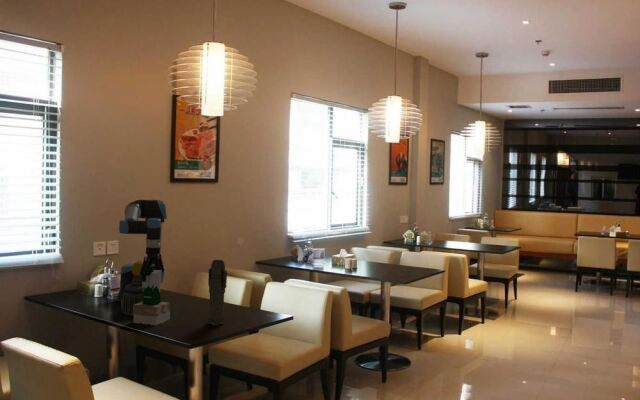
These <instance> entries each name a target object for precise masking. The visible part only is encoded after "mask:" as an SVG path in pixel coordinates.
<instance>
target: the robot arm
mask: <svg viewBox="0 0 640 400" xmlns="http://www.w3.org/2000/svg"><path fill="white" fill-rule="evenodd" d="M167 218H168V217H167V205H166V201H164V200H159V199H137V200H136V199H135V200H134V201H131V202H130V203H128V204H127V205H126V206H125V208H124V219H121V220H119V224H118V226H119V227H118V231H119V234H123V235H146V237H145V246H146V247H145V254H146V256H144V257H143V261H142V262H143V264H142V268H141V271H140V275H142V287H143V288H147V284H148V276H147V273H148V271H149V269H150V267H153V270H162V271H161V277H160V285H161V284H162V283H163V281H164V277H165V271H166V266H165V265H164V262H163V260H162V259H163V257H162V254H161V253H162V233H163V232H162V229H163V228H162V227H163V224H164V223H165V220H166V219H167ZM139 219H144V220H139ZM167 220H168V219H167ZM134 263H135V262H132V263H126V264H124V265H122V266H121V267H120V272H119V273H120V282H119V283H120V285H119V291H118V293H117V297H116V302H118V303H121V300H122V294H123V291H125V286H127V285H129V284H131V283H132V282H133V281H132V279H133V278H134V277H133V276H134V274H133V273H132V266H133V264H134Z"/></svg>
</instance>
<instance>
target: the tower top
mask: <svg viewBox="0 0 640 400" xmlns="http://www.w3.org/2000/svg"><path fill="white" fill-rule="evenodd" d="M167 312H170V313H171V302H169V301H167V302H166V301H161V303H158V304H156V305H145V304H143V302H141V303H138V304H135V305H133V314H136V315H144V316H152V317H157V316H159V315H162V314H165V313H167Z"/></svg>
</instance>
